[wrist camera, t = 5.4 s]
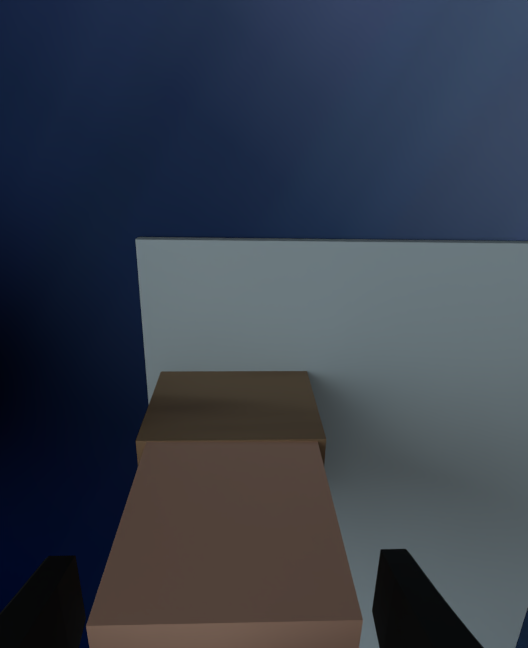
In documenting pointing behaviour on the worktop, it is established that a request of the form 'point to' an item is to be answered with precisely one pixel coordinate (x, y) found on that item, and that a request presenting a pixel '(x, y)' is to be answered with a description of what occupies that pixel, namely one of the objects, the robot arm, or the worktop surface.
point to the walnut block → (232, 408)
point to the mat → (380, 390)
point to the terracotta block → (227, 553)
